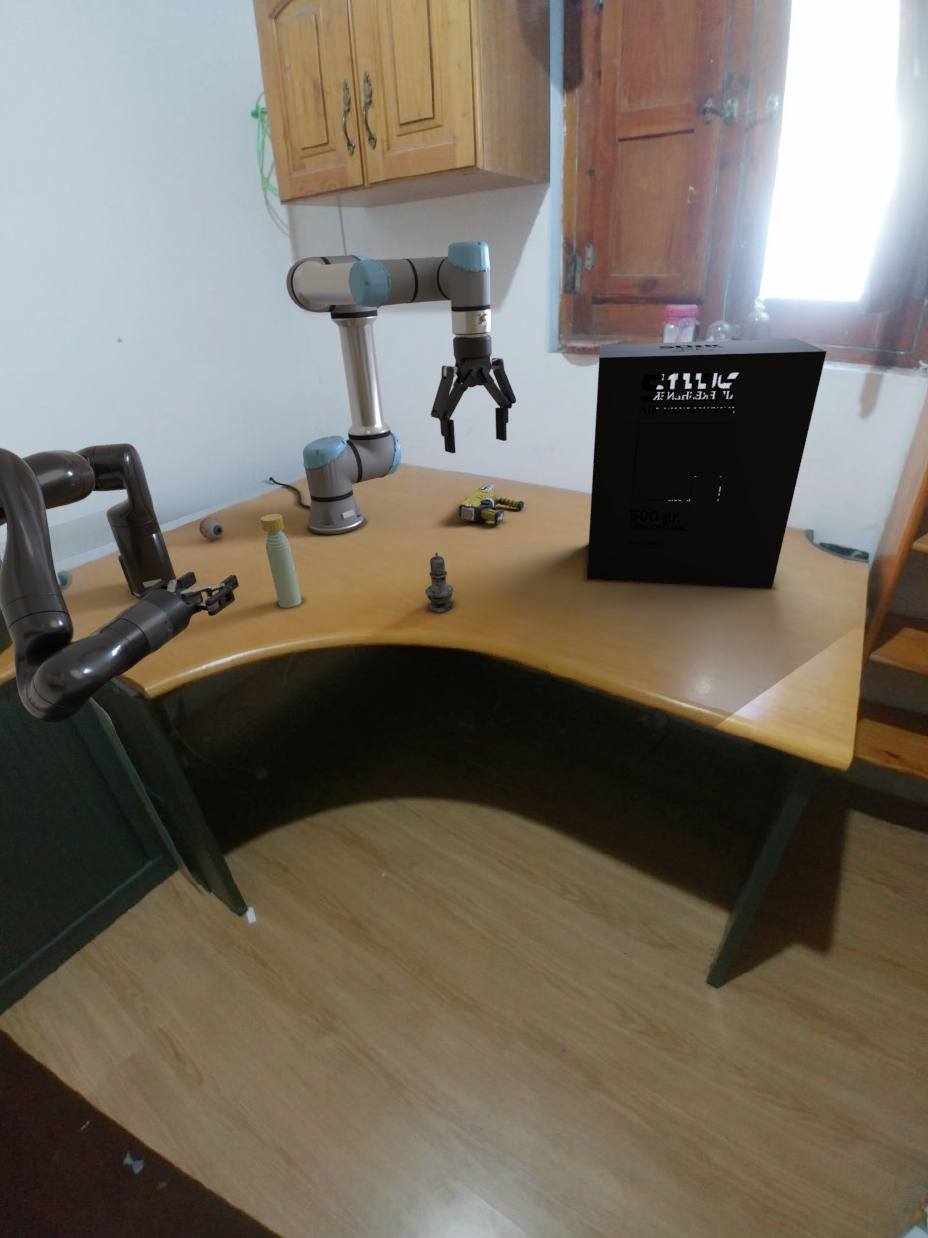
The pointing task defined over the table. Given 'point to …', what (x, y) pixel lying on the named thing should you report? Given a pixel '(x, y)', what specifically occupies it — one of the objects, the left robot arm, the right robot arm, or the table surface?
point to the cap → (272, 523)
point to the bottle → (282, 569)
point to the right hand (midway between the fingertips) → (476, 445)
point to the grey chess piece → (439, 586)
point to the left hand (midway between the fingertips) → (214, 578)
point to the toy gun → (486, 505)
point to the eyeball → (211, 528)
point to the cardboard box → (698, 459)
